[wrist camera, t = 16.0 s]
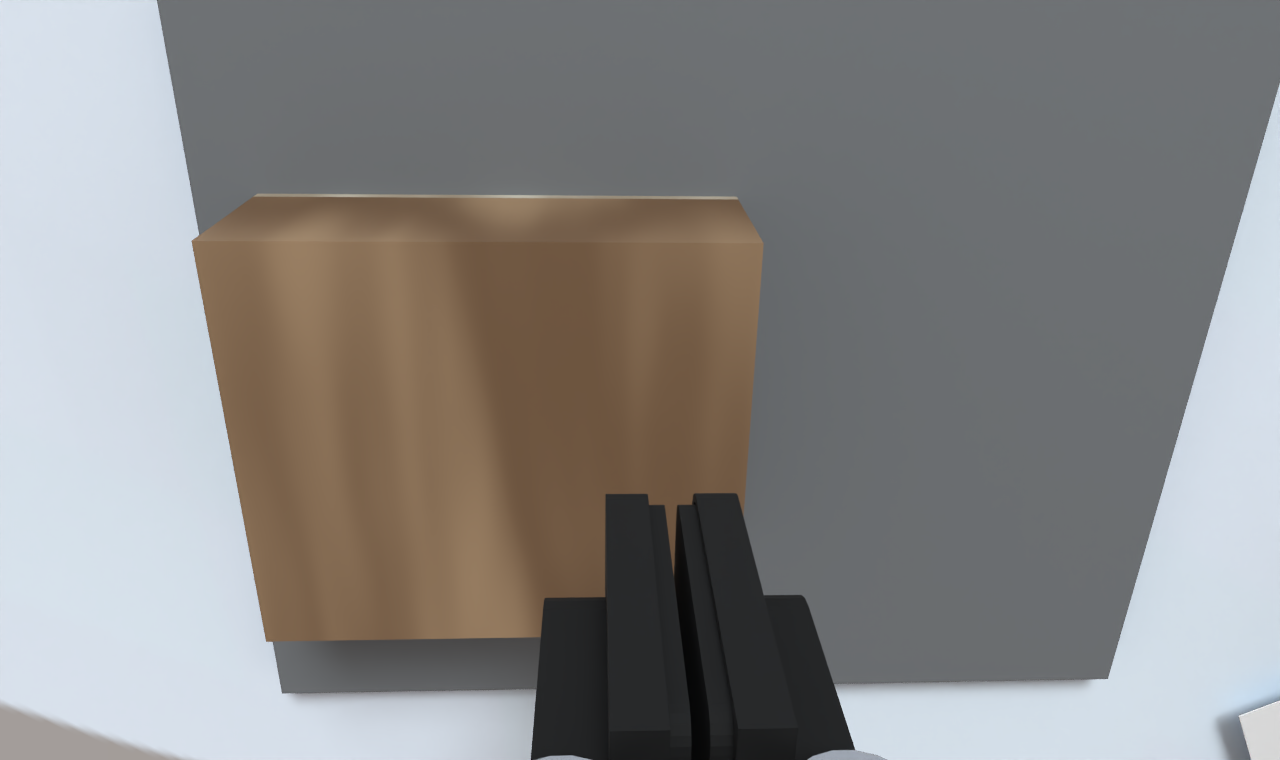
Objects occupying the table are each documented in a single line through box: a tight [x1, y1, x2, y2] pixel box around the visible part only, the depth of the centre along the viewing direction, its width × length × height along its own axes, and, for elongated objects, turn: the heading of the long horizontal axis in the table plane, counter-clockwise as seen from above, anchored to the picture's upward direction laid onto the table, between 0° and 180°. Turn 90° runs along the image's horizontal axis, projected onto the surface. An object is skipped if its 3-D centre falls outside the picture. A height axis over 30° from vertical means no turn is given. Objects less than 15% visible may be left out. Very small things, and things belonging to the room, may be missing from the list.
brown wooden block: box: [192, 194, 764, 642], centre depth 16 cm, size 3×7×8 cm
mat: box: [157, 0, 1280, 693], centre depth 18 cm, size 18×14×1 cm
